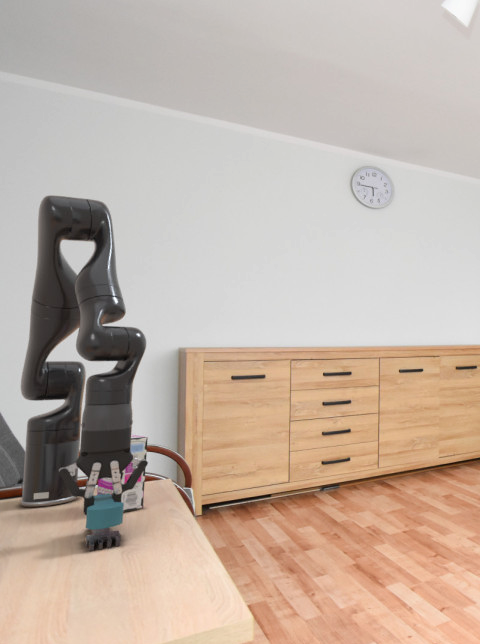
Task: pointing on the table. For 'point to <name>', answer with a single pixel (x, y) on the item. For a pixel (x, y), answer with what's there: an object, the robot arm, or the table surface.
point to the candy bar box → (135, 495)
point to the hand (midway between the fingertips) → (101, 514)
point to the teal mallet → (104, 513)
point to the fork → (102, 538)
